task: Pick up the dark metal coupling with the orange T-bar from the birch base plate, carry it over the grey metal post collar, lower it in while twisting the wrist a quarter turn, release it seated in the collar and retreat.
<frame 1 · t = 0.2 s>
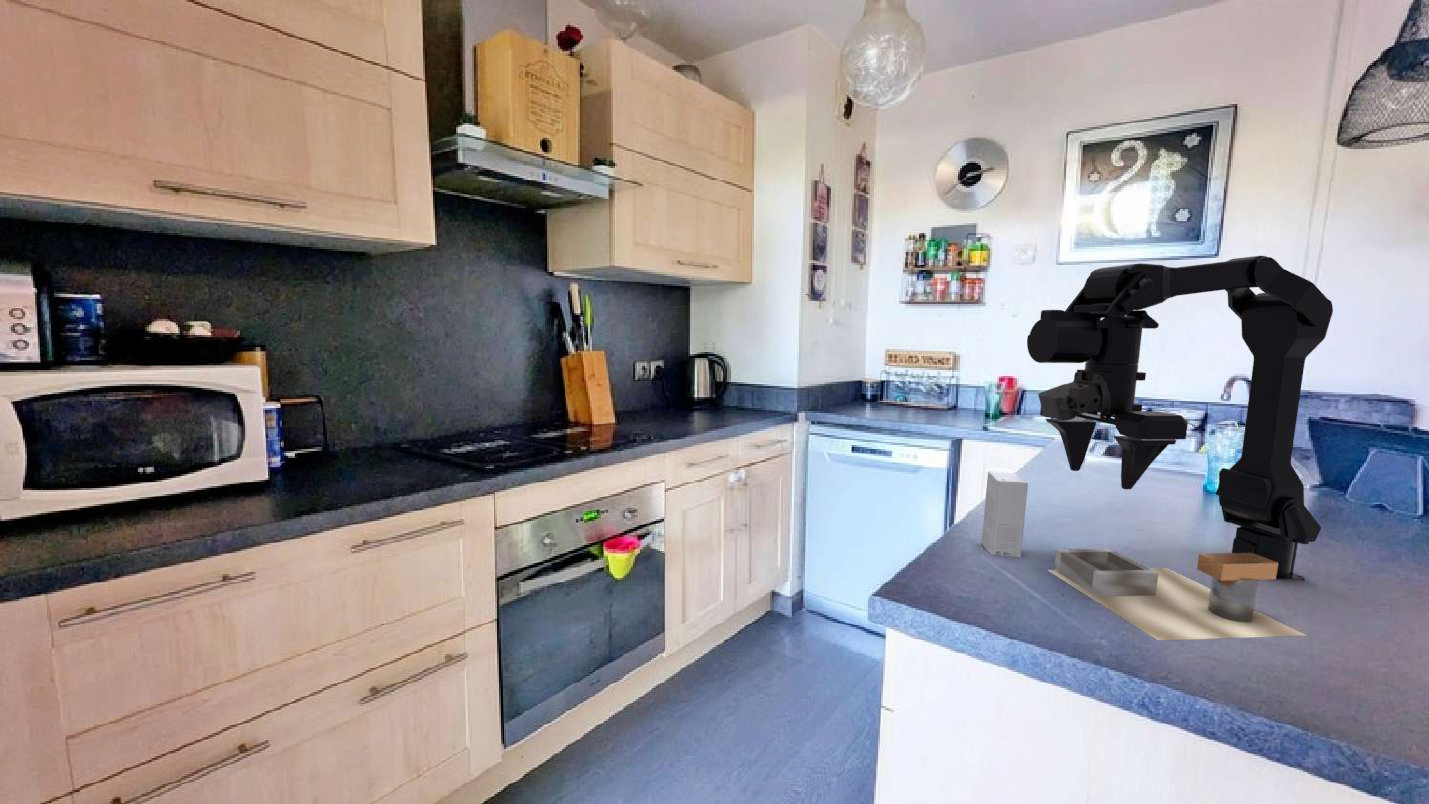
hand: (1099, 479, 76), 14 cm above the worktop, fingers open, 9 cm apart
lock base: (1161, 603, 72), on the worktop
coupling: (1229, 613, 68), point 1 cm above the worktop, touching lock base
skincare box: (1000, 553, 87), on the worktop
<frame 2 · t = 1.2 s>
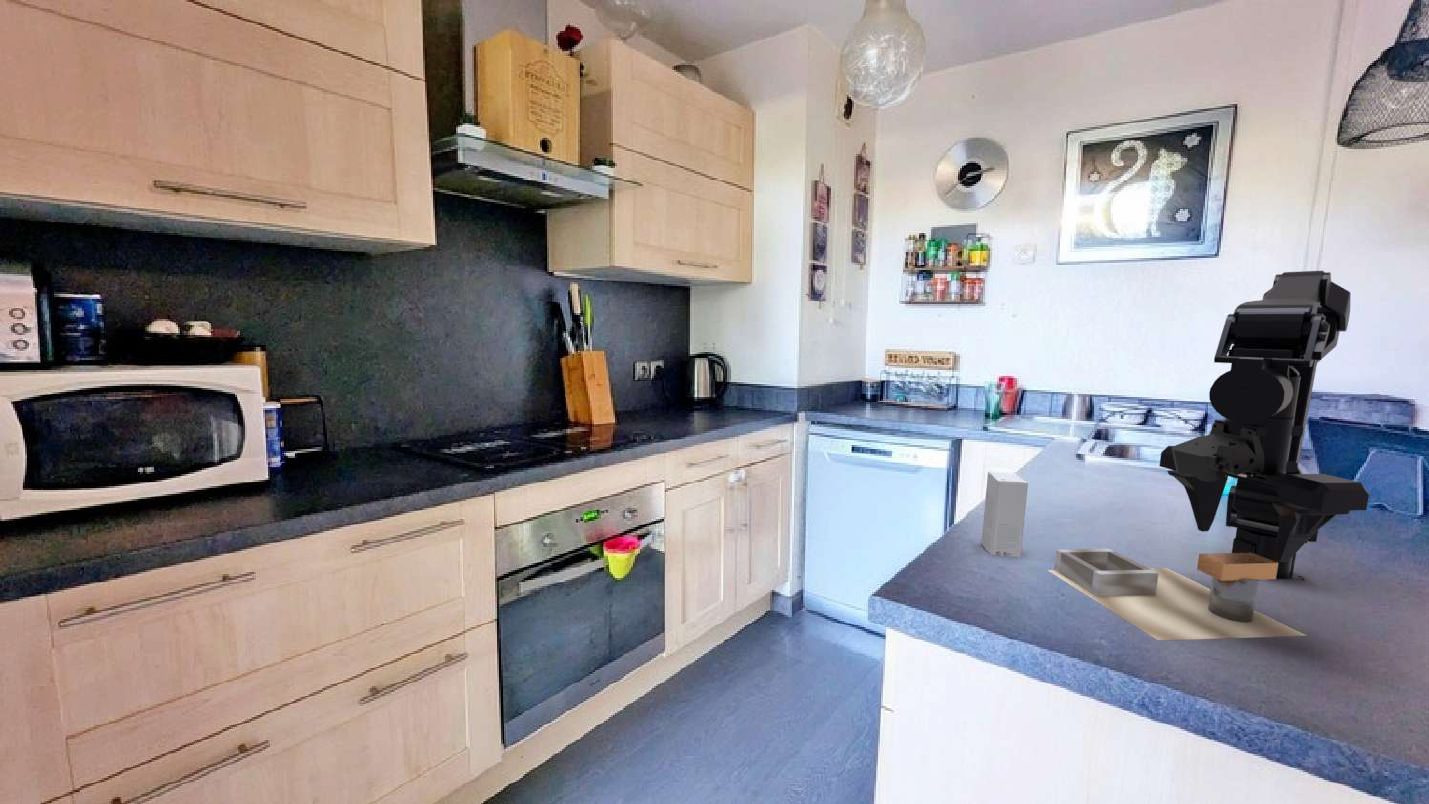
hand: (1240, 545, 67), 9 cm above the worktop, fingers open, 9 cm apart
nothing on the worktop moved.
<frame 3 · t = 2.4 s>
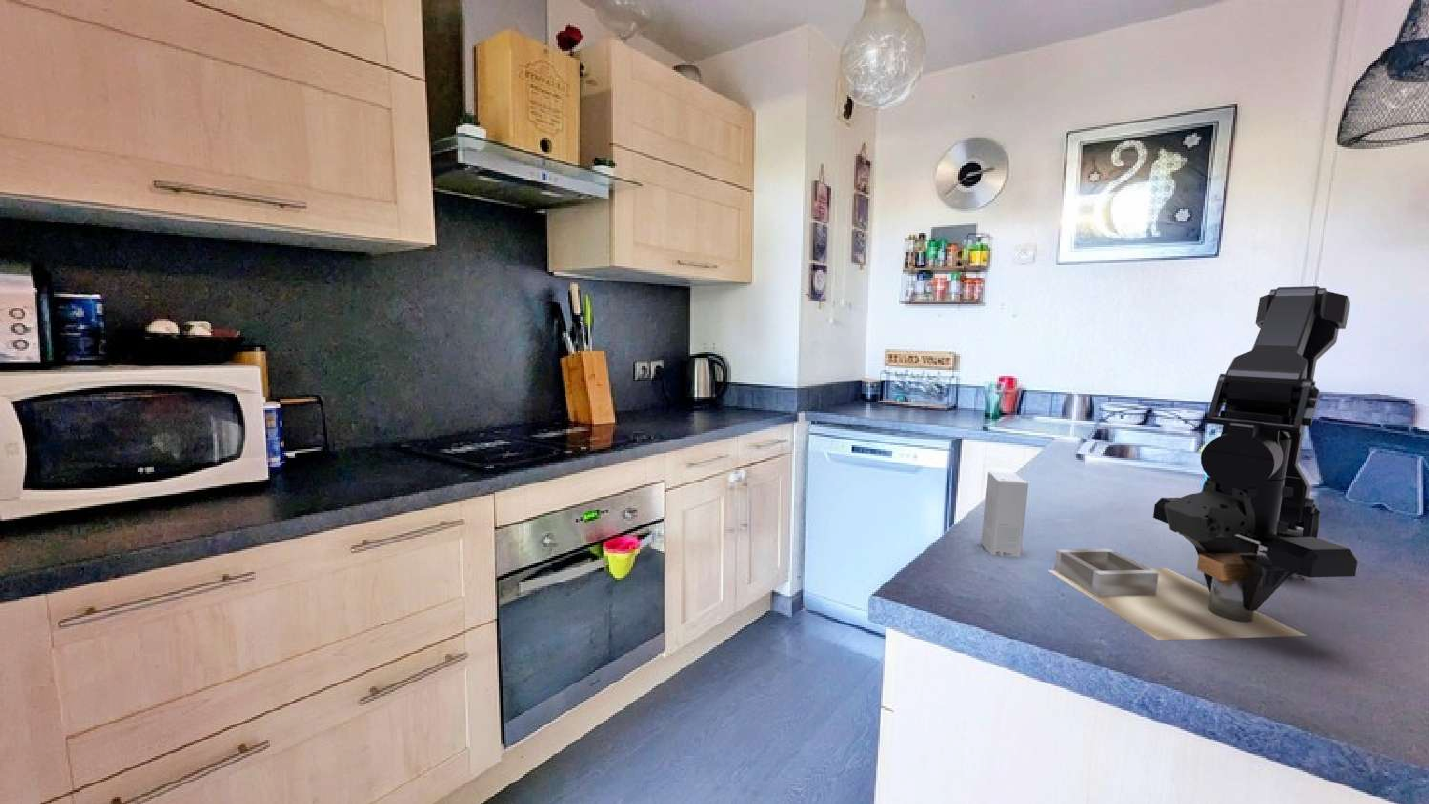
hand: (1231, 601, 68), 2 cm above the worktop, fingers closed on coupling, 4 cm apart
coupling: (1229, 613, 68), point 1 cm above the worktop, touching gripper, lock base
everything else where it was.
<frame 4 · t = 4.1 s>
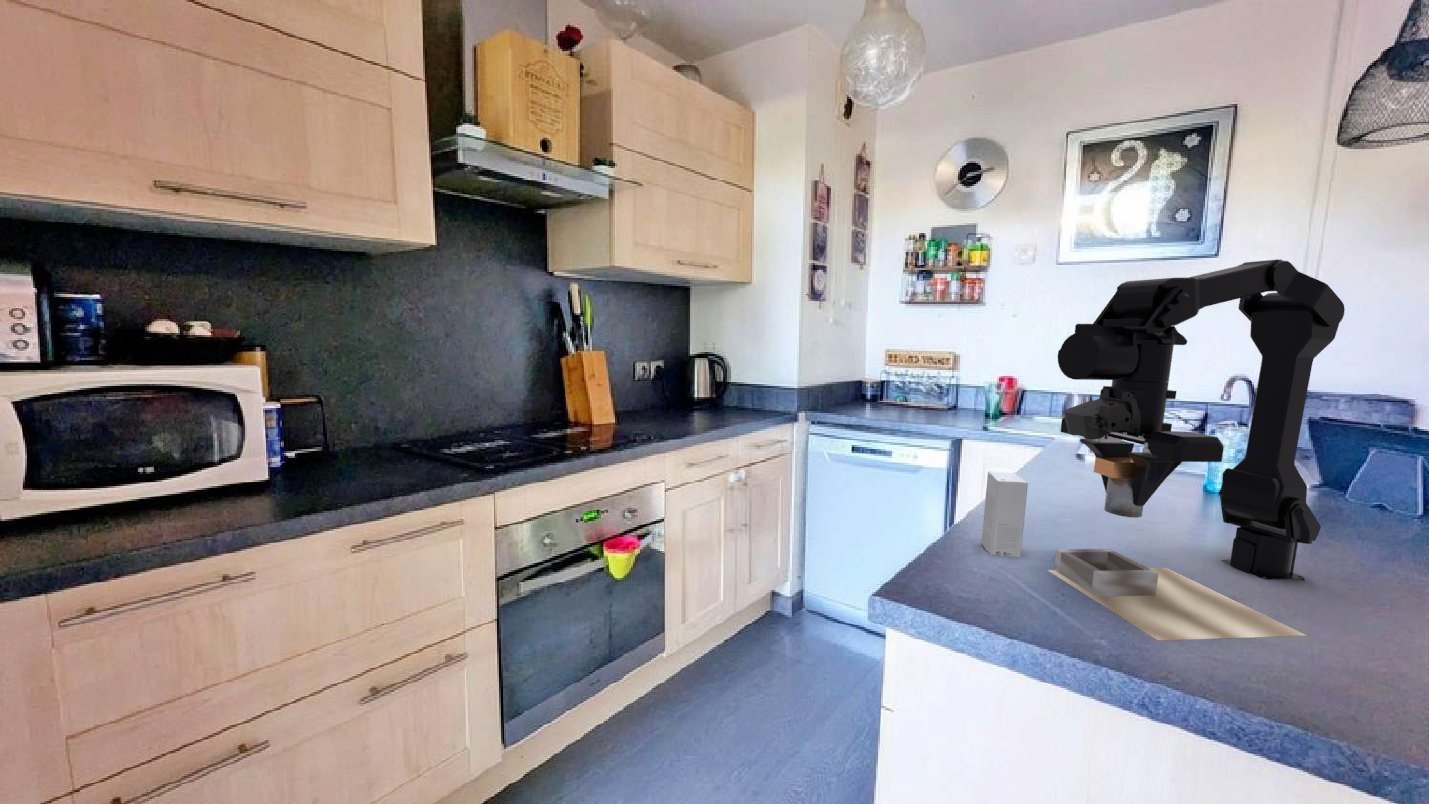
hand: (1124, 500, 73), 12 cm above the worktop, fingers closed on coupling, 4 cm apart
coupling: (1122, 512, 74), point 11 cm above the worktop, touching gripper
everything else where it was.
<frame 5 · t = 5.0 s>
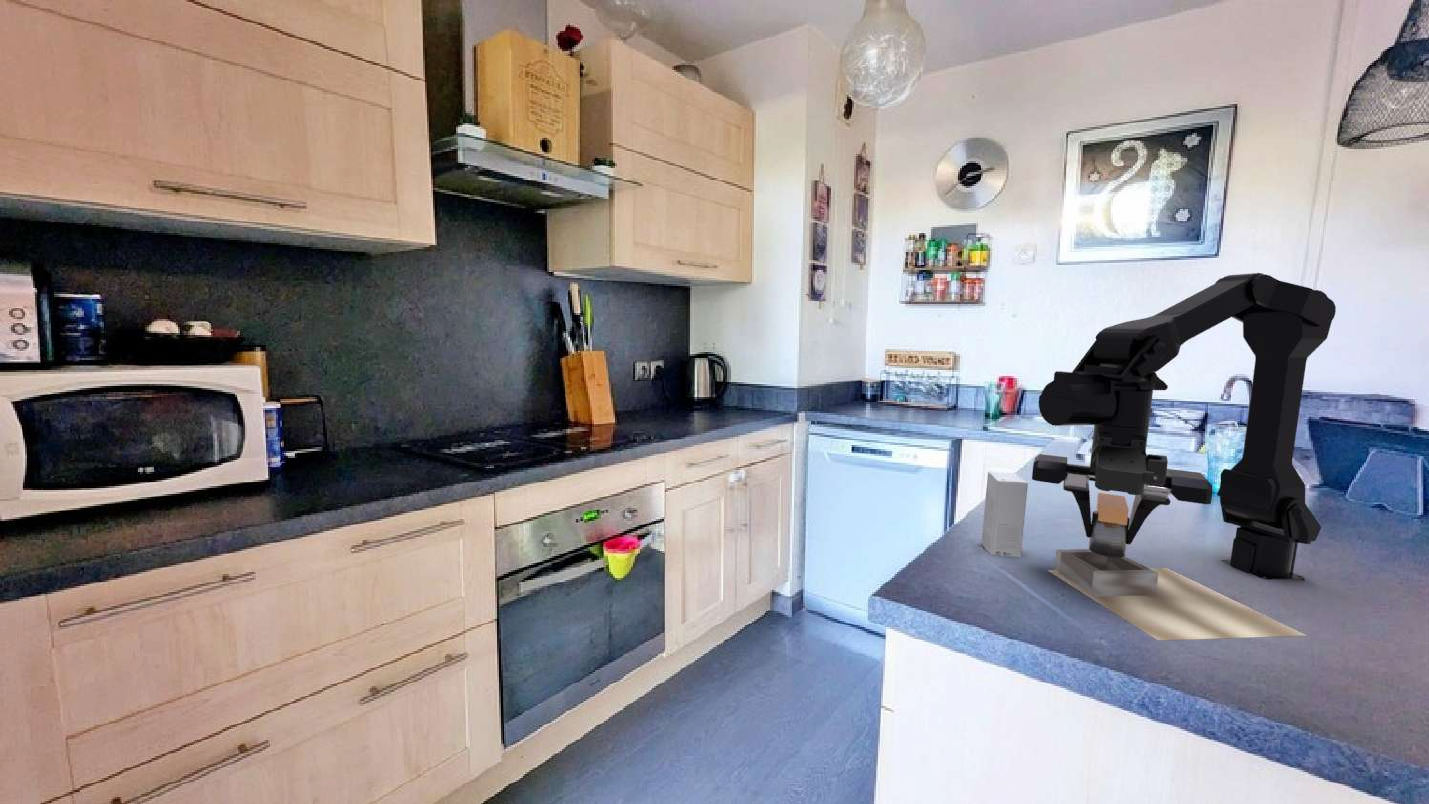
hand: (1107, 540, 75), 6 cm above the worktop, fingers closed on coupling, 4 cm apart
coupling: (1106, 551, 76), point 5 cm above the worktop, touching gripper
everything else where it was.
when the fingers open (4 cm above the worktop, at t = 5.7 s): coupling drops 2 cm, resting on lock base.
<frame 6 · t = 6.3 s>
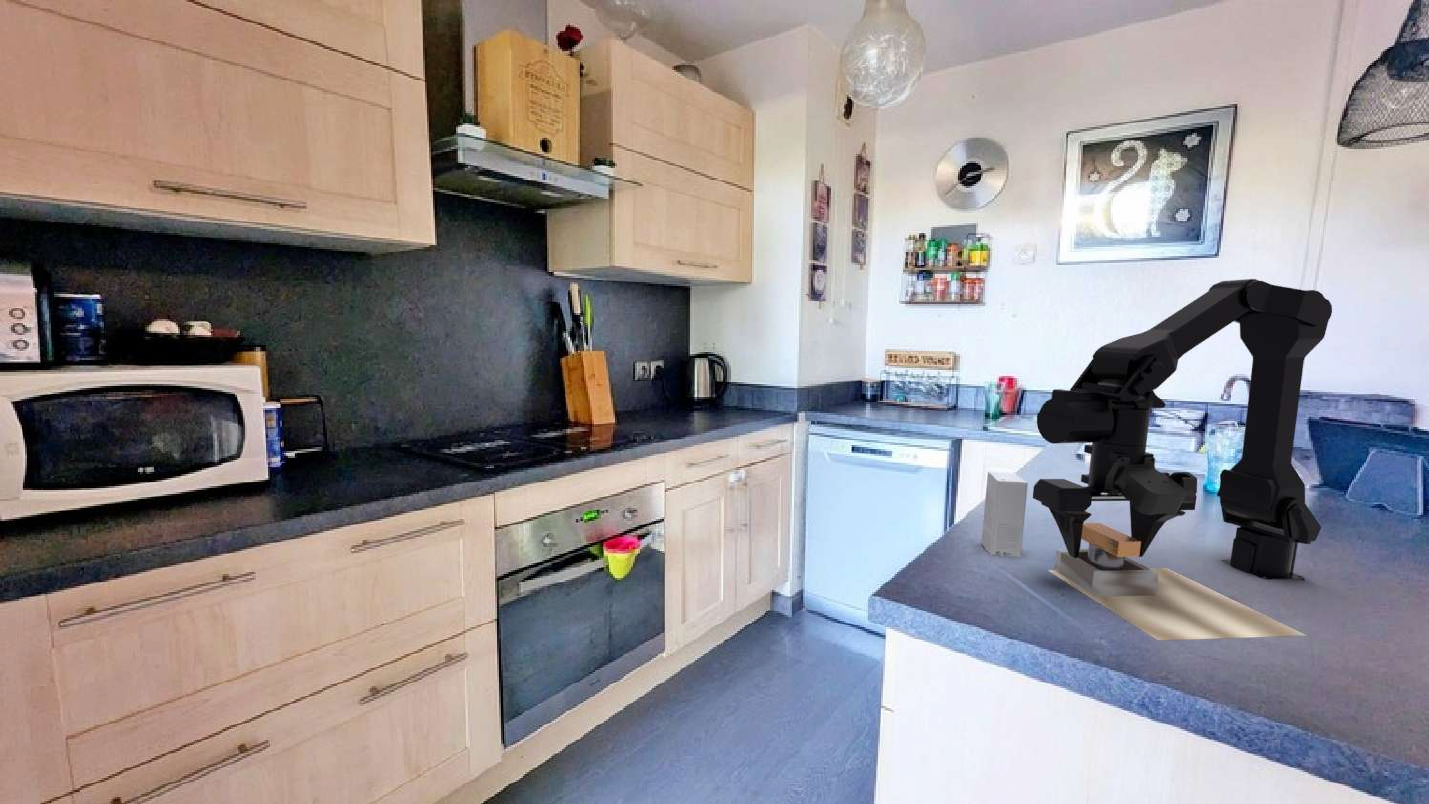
hand: (1105, 556, 76), 4 cm above the worktop, fingers open, 9 cm apart
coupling: (1103, 582, 76), point 1 cm above the worktop, touching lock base
everything else where it was.
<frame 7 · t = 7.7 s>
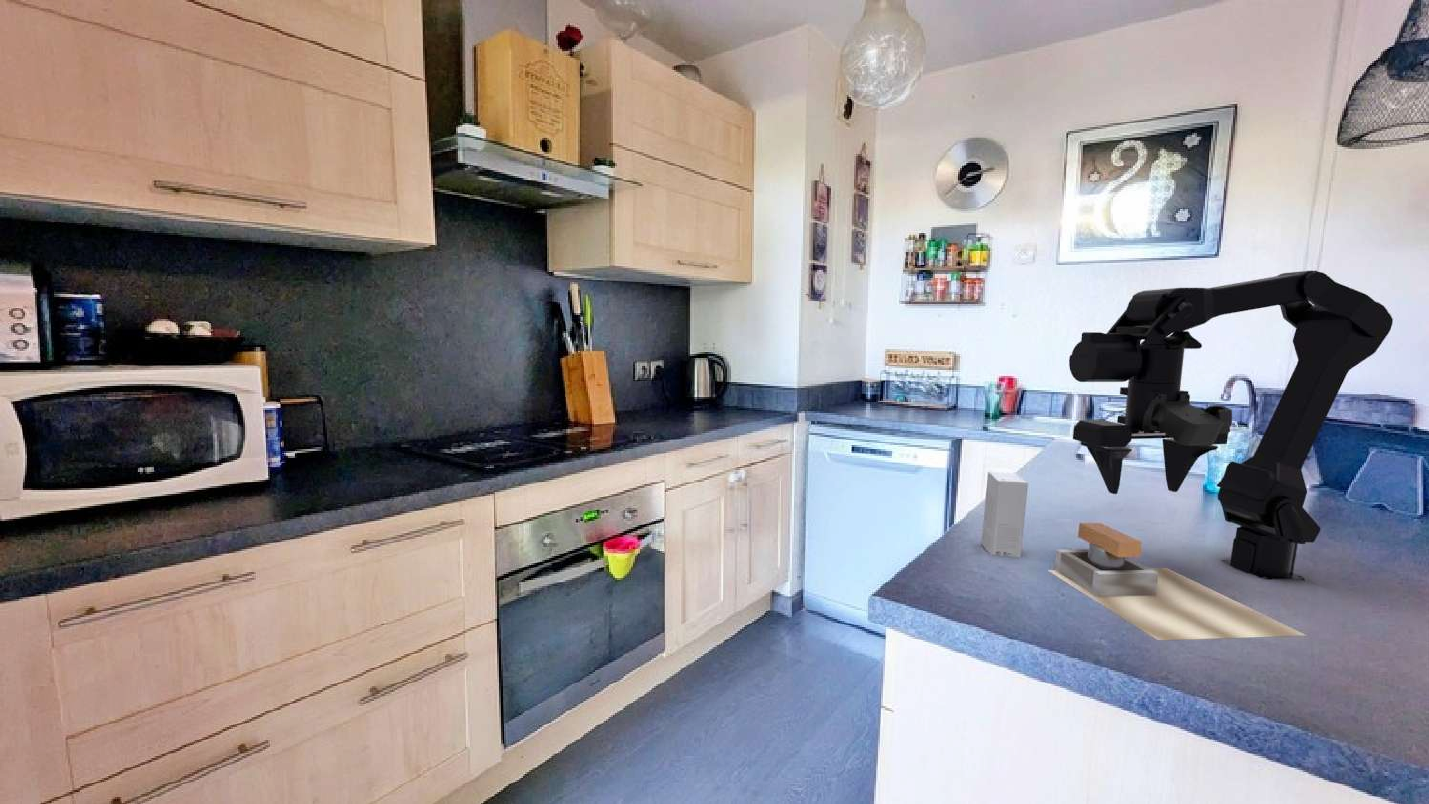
hand: (1142, 492, 80), 12 cm above the worktop, fingers open, 9 cm apart
nothing on the worktop moved.
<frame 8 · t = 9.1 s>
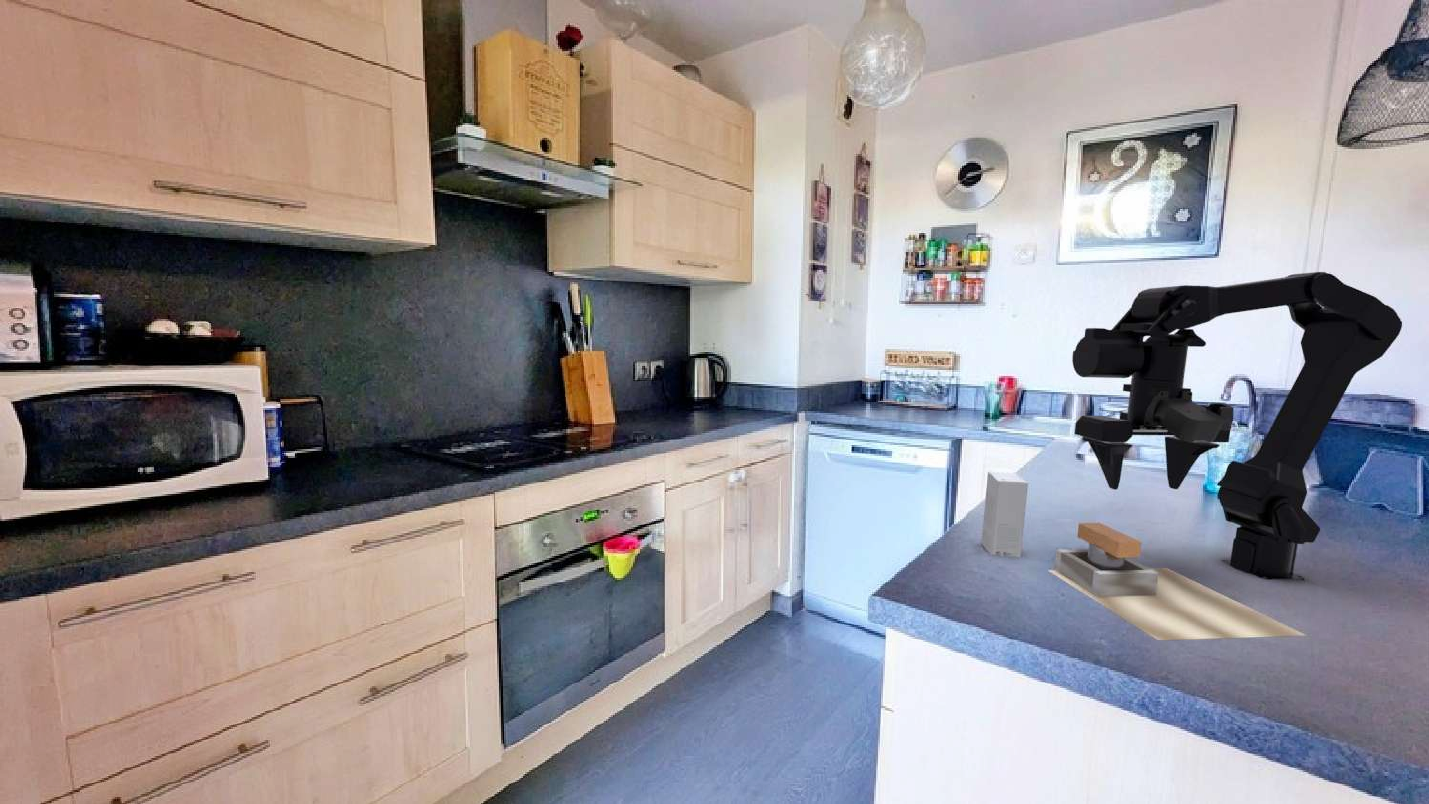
hand: (1143, 488, 80), 12 cm above the worktop, fingers open, 9 cm apart
nothing on the worktop moved.
at the end: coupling 0.1 cm from the target spot on the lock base, point 0.6 cm above the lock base's base; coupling tilted 1°; the gripper is holding nothing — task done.
